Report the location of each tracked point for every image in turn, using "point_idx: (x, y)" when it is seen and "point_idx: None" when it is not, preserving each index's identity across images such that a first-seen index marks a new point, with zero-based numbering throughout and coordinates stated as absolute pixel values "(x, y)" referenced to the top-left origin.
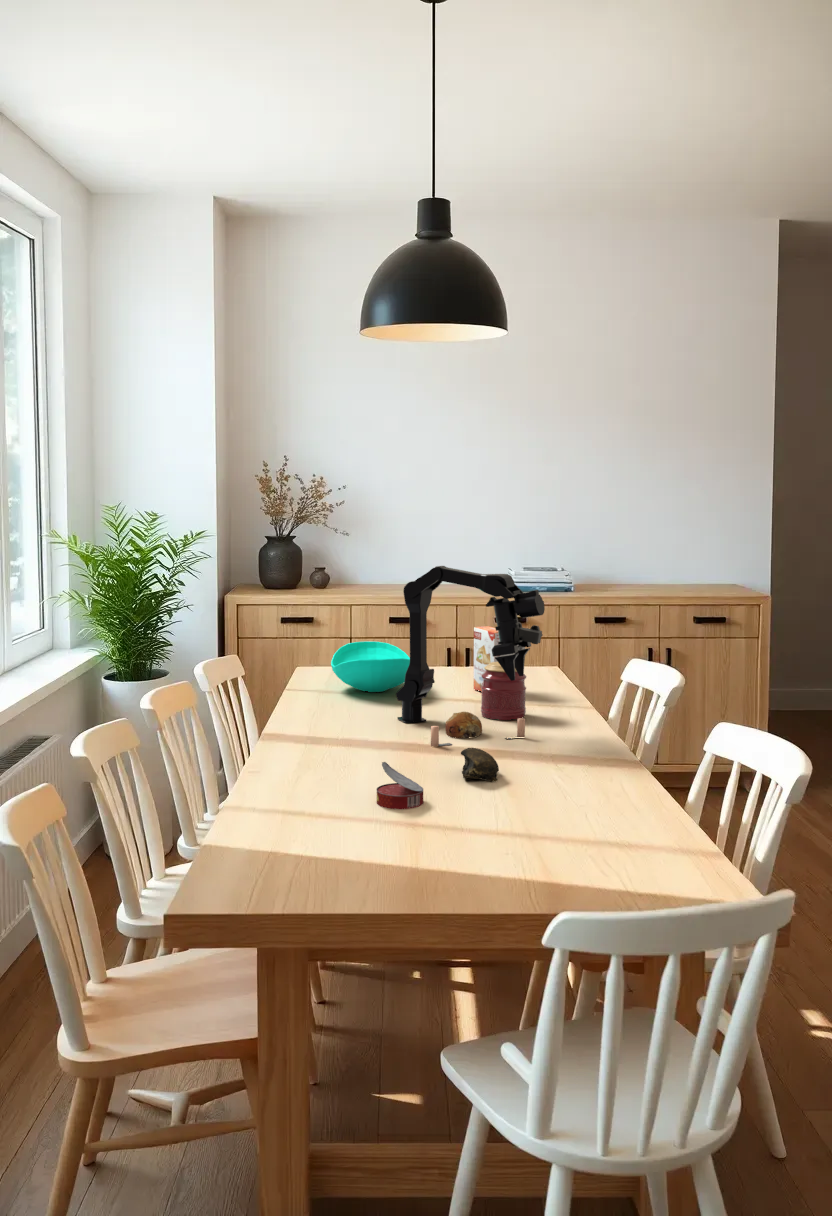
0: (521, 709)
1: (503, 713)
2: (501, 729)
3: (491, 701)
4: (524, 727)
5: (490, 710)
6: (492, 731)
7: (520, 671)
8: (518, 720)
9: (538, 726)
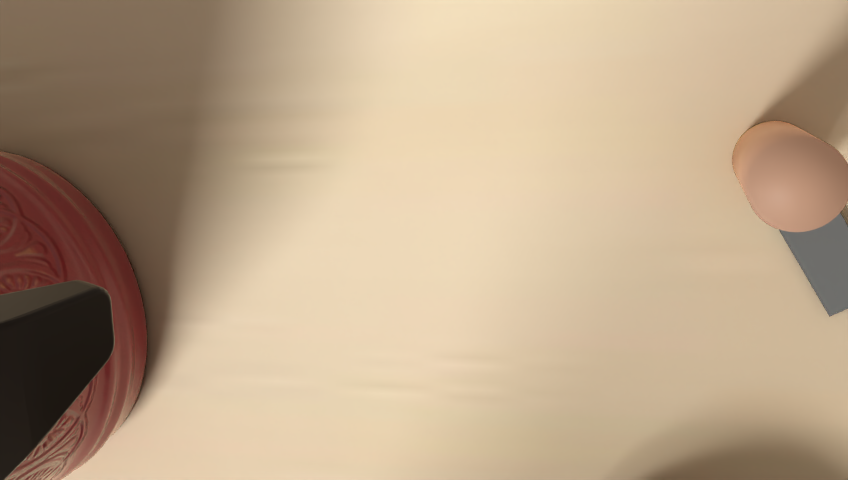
0: (6, 184)
1: (115, 329)
2: (448, 331)
3: (33, 465)
4: (808, 133)
5: (92, 435)
6: (537, 407)
7: (36, 373)
8: (832, 216)
9: (274, 17)
